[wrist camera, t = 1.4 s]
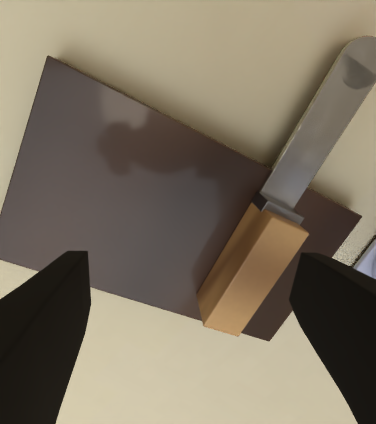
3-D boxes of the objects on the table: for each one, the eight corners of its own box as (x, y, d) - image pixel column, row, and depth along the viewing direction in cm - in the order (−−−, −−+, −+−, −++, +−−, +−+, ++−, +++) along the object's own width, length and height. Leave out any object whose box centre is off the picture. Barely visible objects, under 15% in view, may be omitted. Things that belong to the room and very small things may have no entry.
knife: (227, 305, 21) (239, 337, 18) (195, 294, 20) (202, 326, 17) (390, 53, 15) (442, 44, 13) (354, 26, 15) (402, 10, 12)
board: (348, 208, 21) (362, 216, 19) (262, 327, 24) (269, 341, 23) (56, 58, 15) (47, 54, 13) (-1, 244, 18) (-13, 256, 17)
